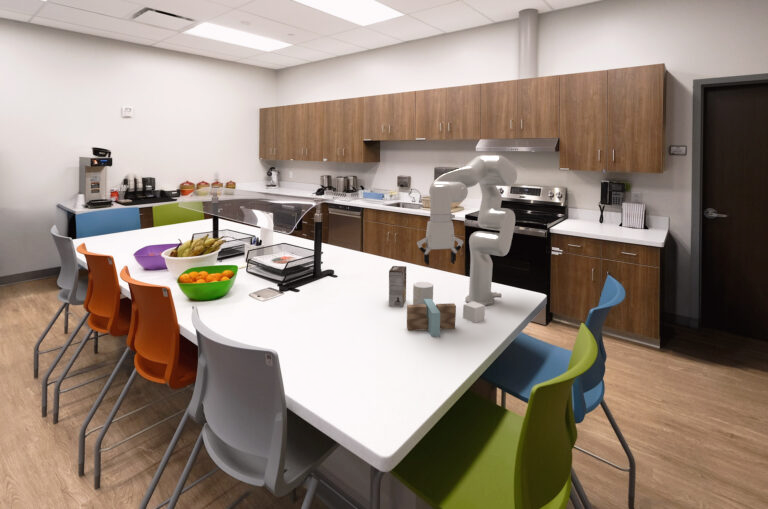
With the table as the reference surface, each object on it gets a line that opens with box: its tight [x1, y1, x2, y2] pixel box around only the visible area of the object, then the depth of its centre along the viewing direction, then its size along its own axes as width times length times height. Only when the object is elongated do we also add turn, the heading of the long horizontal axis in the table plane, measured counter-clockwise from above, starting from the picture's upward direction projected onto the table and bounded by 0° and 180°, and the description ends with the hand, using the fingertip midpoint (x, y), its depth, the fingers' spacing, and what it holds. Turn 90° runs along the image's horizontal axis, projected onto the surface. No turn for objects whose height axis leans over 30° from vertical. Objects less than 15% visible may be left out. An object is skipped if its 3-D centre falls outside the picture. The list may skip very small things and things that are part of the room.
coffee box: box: [388, 265, 407, 308], centre depth 193 cm, size 9×6×16 cm
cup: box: [412, 281, 434, 305], centre depth 183 cm, size 8×8×12 cm
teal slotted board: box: [424, 299, 441, 338], centre depth 166 cm, size 3×16×9 cm, turn 6°
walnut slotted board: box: [406, 302, 457, 331], centre depth 167 cm, size 18×3×9 cm, turn 95°
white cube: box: [462, 302, 486, 324], centre depth 177 cm, size 6×6×6 cm
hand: (439, 263), depth 165 cm, fingers open, 9 cm apart
